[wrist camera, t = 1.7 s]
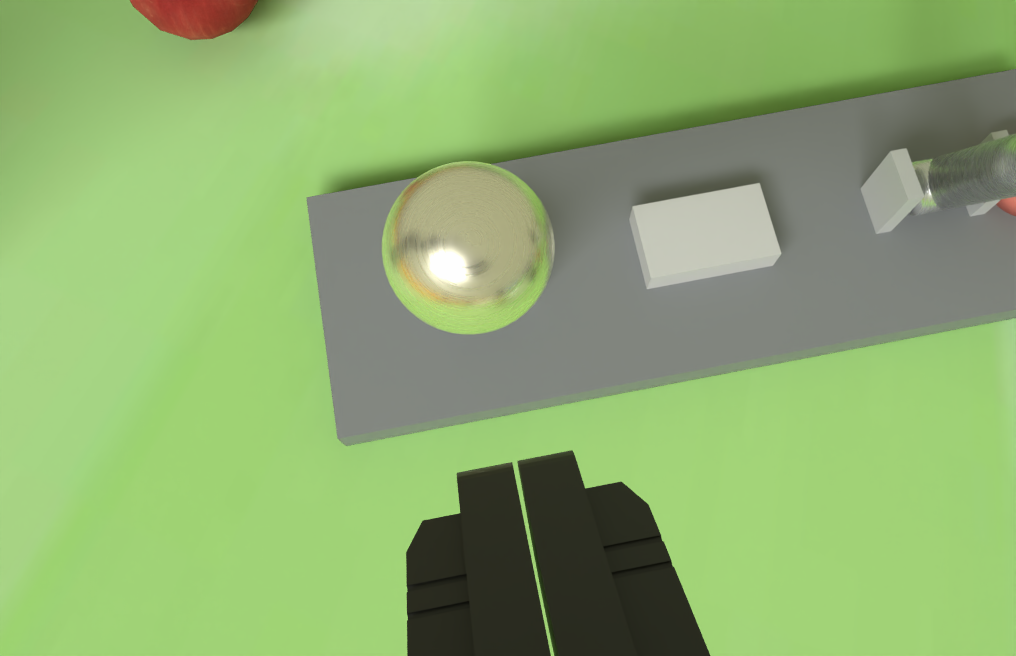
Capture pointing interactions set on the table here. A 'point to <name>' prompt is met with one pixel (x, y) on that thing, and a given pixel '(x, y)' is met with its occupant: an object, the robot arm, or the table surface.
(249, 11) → the onion
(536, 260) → the metal lever
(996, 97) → the switch panel
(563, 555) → the robot arm
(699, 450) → the table surface
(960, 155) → the silver metal rod
